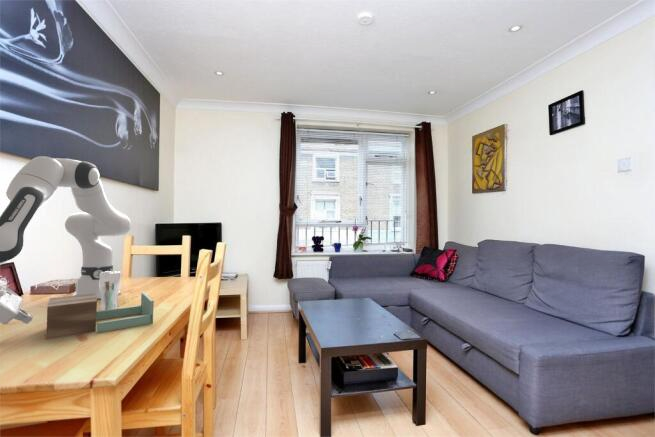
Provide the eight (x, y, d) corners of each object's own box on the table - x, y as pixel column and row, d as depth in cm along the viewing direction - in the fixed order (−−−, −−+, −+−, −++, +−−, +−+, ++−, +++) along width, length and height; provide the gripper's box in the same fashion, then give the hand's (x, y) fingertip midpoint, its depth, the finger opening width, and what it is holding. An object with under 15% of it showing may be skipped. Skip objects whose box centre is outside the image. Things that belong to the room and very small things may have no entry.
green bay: (92, 320, 111) (93, 297, 111) (143, 312, 122) (144, 292, 122) (96, 332, 99) (97, 307, 99) (152, 323, 110) (153, 300, 110)
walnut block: (48, 328, 102) (49, 298, 102) (93, 321, 110) (94, 293, 110) (46, 340, 93) (47, 306, 93) (95, 331, 101) (97, 301, 101)
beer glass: (108, 312, 120) (109, 274, 120) (93, 311, 122) (95, 273, 122) (123, 307, 127) (124, 271, 127) (109, 306, 128) (110, 270, 129)
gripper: (-11, 290, 82) (38, 320, 89) (0, 278, 98) (41, 304, 104) (-37, 310, 79) (16, 340, 86) (-21, 294, 95) (22, 320, 101)
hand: (30, 320), depth 95 cm, fingers closed
